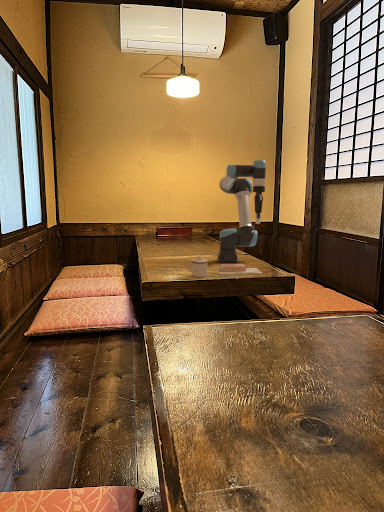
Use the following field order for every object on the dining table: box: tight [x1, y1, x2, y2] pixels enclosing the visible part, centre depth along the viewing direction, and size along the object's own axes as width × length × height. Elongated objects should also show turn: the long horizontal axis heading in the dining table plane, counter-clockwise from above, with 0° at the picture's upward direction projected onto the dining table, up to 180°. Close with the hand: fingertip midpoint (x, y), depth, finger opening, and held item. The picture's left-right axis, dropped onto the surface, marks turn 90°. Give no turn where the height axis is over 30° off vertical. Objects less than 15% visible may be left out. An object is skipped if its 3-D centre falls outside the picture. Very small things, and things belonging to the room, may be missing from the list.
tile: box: [220, 263, 247, 272], centre depth 226 cm, size 10×3×14 cm
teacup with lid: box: [186, 255, 209, 278], centre depth 214 cm, size 12×9×12 cm
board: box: [216, 267, 263, 275], centre depth 226 cm, size 20×26×1 cm
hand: (257, 223), depth 231 cm, fingers closed
